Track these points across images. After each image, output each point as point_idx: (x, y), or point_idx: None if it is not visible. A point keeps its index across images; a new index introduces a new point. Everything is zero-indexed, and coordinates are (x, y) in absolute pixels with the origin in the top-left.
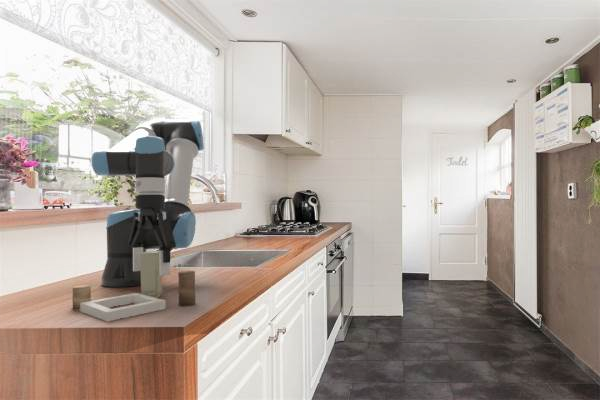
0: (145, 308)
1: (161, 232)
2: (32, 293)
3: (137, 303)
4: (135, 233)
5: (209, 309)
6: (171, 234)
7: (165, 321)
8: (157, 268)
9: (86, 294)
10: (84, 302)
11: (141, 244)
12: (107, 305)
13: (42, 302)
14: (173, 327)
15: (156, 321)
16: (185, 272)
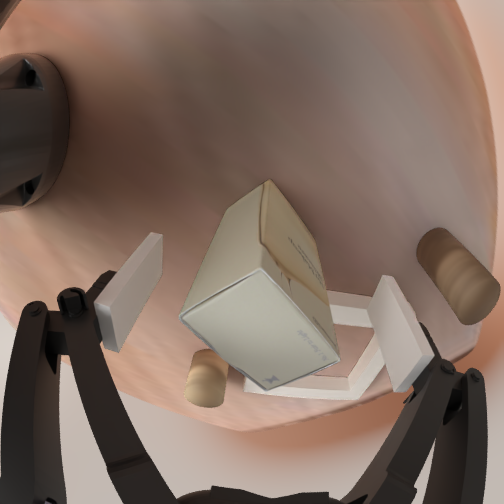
0: None
1: (432, 469)
2: (20, 313)
3: None
4: (52, 400)
5: (491, 261)
6: (480, 430)
7: (445, 347)
8: (323, 293)
9: (225, 386)
10: (248, 388)
11: (92, 321)
12: None
13: (105, 355)
14: (465, 354)
15: None
16: (479, 309)
